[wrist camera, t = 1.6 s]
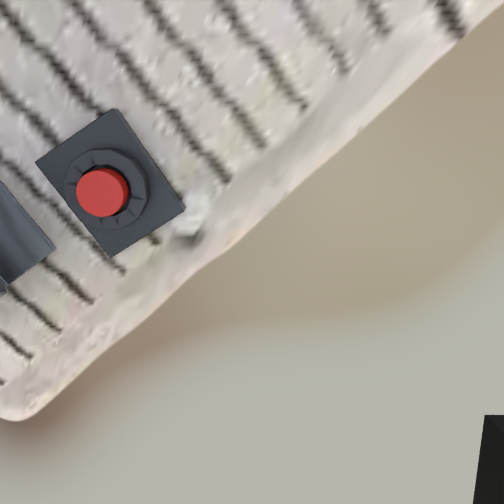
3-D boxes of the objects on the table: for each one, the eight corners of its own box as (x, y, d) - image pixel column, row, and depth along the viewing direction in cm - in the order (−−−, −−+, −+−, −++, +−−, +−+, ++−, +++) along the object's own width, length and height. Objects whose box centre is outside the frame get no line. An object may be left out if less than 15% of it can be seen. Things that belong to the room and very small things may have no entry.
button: (74, 183, 33) (65, 187, 32) (110, 159, 33) (103, 161, 31) (102, 220, 35) (96, 225, 33) (137, 197, 34) (132, 201, 32)
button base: (43, 160, 36) (23, 164, 32) (117, 108, 35) (105, 107, 31) (115, 252, 39) (104, 265, 35) (186, 207, 38) (181, 216, 34)
